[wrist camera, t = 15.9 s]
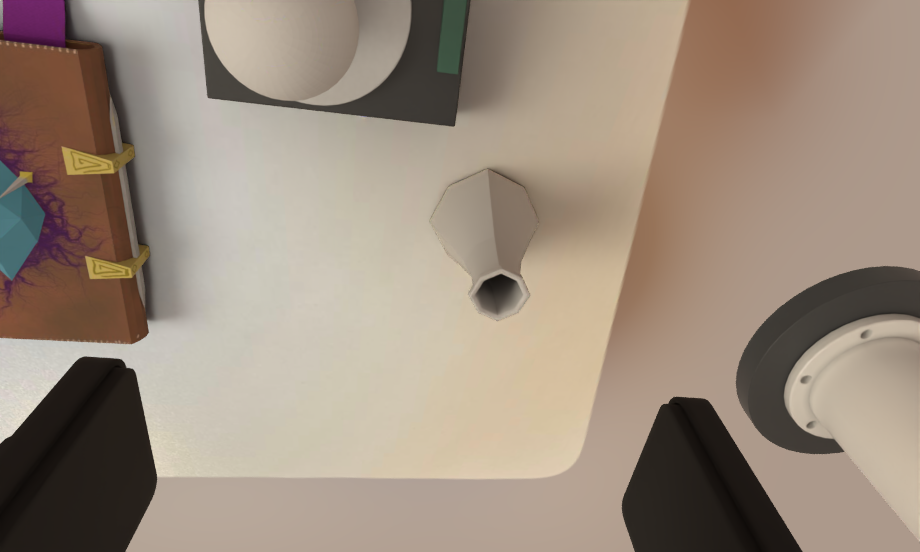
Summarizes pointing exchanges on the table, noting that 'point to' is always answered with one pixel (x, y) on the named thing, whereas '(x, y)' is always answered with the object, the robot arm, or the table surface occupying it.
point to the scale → (380, 64)
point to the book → (63, 189)
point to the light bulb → (284, 43)
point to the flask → (488, 239)
